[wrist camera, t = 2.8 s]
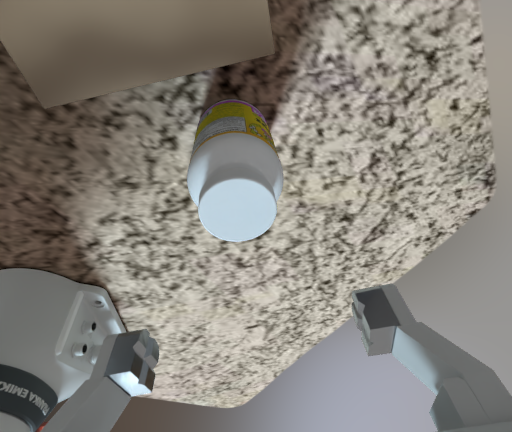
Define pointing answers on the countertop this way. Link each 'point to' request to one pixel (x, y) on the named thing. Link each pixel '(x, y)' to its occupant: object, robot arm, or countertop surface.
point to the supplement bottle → (235, 171)
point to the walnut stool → (127, 42)
